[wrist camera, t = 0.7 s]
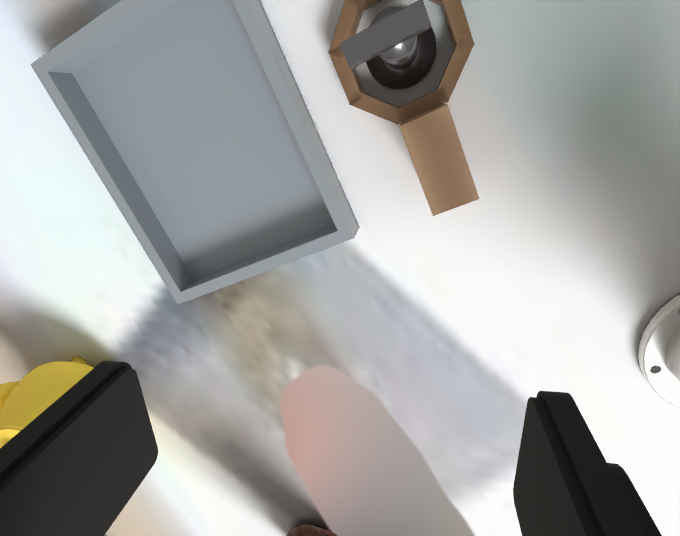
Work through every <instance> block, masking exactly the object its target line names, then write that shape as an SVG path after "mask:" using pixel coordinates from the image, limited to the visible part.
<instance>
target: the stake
mask: <svg viewBox="0 0 680 536" xmlns="http://www.w3.org/2000/svg"><path fill="white" fill-rule="evenodd" d="M340 46H341V48H342V51H343V53H344V56H345V58H346V61H347V63H348V66H349V67H350V68H354V67H356V66H358V65H360V64H362V63H364V62H367V66H368V68H369V70H370V72H371V74H372V76H373V77H374V78H375V79H376V80H377V81H378V82H379V83H381V84H382V85H384V86H386V87H389V88H393V89H404V88H408V87H411V86H413V85H415V84H417V83H418V82H420V81H421V80H422V79H423V78H424V77H425V76H426V75H427V73H428V72H429V70H430V69H431V67H432V64H433V62H434V59H435V54H436V39H435V35H434V32H433V29H432V27H431V24H430V21H429V18H428V14H427V11H426V8H425V5H424V2H423V0H418V1H417V2H415V3H413V4H411V5H409V6H407V7H405V8H404V9H403V8H400V7H389V8H387V9H384V10H383V11H381V12H380V13H379V14H378V15H377V16H376V18H375V19H374V21H373V23H372V26H371V27H369V28H367V29H365V30H363V31H361V32H360V33H358V34H356V35H354V36H352V37H350V38H349V39H347V40H345V41H343V42H341V43H340Z"/></svg>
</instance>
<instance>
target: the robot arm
mask: <svg viewBox="0 0 680 536" xmlns="http://www.w3.org/2000/svg"><path fill="white" fill-rule="evenodd" d="M638 358H639V364H640V369H641V371H642V373H643V375H644V377H645V379H646V380H647V381H648V383H649V384H650V385H651V387H652V388H653V389H654V390H655V391H656V392H657V393H658V394H659V395H660V396H661V397H662V398H663V399H665V400H666V401H668V402H669V403H671V404H673V405H674V406H677V407H679V408H680V295H678V296H676V297H674V298H673V299H672V300H671V301H669V302H668V303H667V304H666V305H664V306H663V307H662V308H661V309H660V310H659V311H658V312H657V313H656V314H655V316H654V317H653V318H652V319H651V320H650V322H649V324H648V325H647V327H646V329H645V330H644V332H643V335H642V338H641V341H640V344H639V354H638ZM157 455H158V447H157V444H156V440H155V437H154V433H153V430H152V426H151V423H150V419H149V415H148V412H147V408H146V405H145V401H144V398H143V394H142V390H141V387H140V383H139V380H138V376H137V373H136V371H135V370H134V369H132V367H131V366H130V365H129V364H128V363H125V362H113V361H104V362H101V363H100V364H98V365H97V366H96V367H95V368H94V369H92V370H91V371H90V372H89V373H88V374H87V375H85V376H84V377H83V378H82V379H81V380H80V381H78V382H77V383H76V384H75V385H74V386H73V387H71V388H70V389H69V390H68V391H67V392H65V393H64V394H63V395H62V396H61V397H60V398H58V399H57V400H56V401H55V402H54V403H53V404H51V405H50V406H49V407H48V408H47V409H46V410H44V411H43V412H42V413H41V414H40V415H39V416H37V417H36V418H35V419H34V420H33V421H32V422H30V423H29V424H28V425H27V426H26V427H25V428H23V429H22V430H21V431H20V432H19V433H18V434H16V435H15V436H14V437H13V438H12V439H11V440H9V441H8V442H7V443H6V444H5V445H4V446H2V447H1V448H0V536H104V535H105V533H106V532H107V531H108V529H109V528H110V526H111V525H112V523H113V522H114V521H115V519H116V518H117V516H118V515H119V513H120V512H121V511H122V509H123V508H124V506H125V505H126V503H127V502H128V501H129V499H130V498H131V496H132V495H133V494H134V492H135V491H136V489H137V488H138V486H139V485H140V484H141V482H142V481H143V479H144V478H145V476H146V475H147V474H148V472H149V471H150V469H151V468H152V466H153V465H154V463H155V461H156V459H157ZM513 494H514V503H515V508H516V512H517V516H518V520H519V524H520V528H521V532H522V536H661V534H660V532H659V530H658V529H657V527H656V525H655V523H654V521H653V520H652V518H651V516H650V514H649V512H648V511H647V509H646V507H645V505H644V504H643V502H642V500H641V498H640V496H639V495H638V493H637V491H636V489H635V488H634V486H633V484H632V482H631V480H630V479H629V477H628V475H627V474H626V472H625V471H624V470H623V468H622V467H620V466H619V465H618V464H612V463H606V461H605V459H604V457H603V455H602V453H601V451H600V449H599V447H598V445H597V443H596V442H595V440H594V438H593V436H592V434H591V432H590V430H589V428H588V426H587V424H586V423H585V421H584V419H583V417H582V415H581V413H580V411H579V409H578V407H577V405H576V403H575V402H574V400H573V398H572V396H571V395H570V394H569V393H563V392H548V391H539V392H538V394H537V398H534V397H530V398H529V399H528V402H527V408H526V414H525V420H524V426H523V432H522V439H521V445H520V451H519V457H518V463H517V469H516V475H515V481H514V488H513Z"/></svg>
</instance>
